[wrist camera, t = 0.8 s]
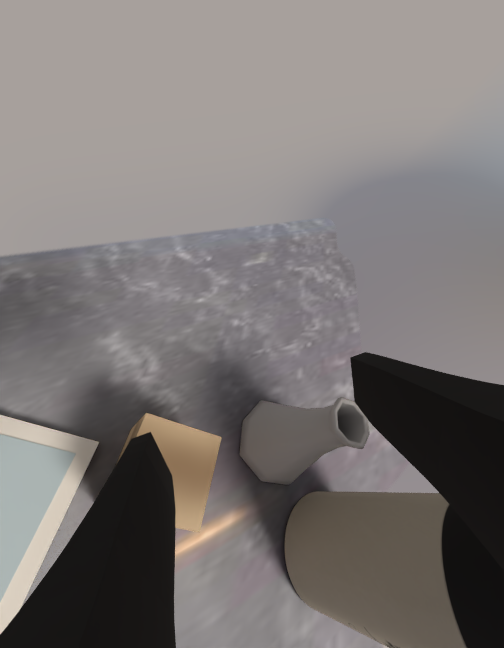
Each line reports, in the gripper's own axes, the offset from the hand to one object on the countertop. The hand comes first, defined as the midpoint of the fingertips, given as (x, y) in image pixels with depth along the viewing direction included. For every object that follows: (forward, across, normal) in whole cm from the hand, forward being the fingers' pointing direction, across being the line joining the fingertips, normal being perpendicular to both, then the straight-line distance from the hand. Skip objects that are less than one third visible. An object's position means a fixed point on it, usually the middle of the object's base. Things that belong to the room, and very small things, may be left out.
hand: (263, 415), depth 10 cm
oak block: (+9, +8, +9) cm, 15 cm away
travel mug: (+6, -3, +21) cm, 22 cm away
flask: (+12, -2, +14) cm, 19 cm away
